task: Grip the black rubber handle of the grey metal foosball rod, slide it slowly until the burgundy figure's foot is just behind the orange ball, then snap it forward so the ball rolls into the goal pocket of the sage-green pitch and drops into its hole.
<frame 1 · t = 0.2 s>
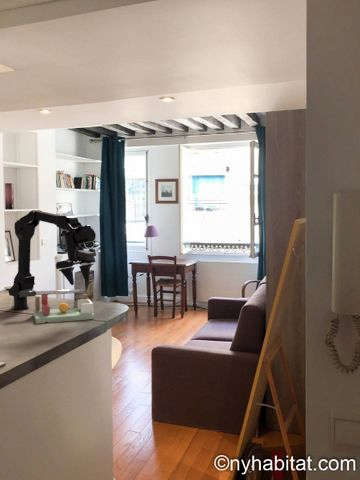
hand: (79, 283, 181), 15 cm above the table, tool pointing down, fingers open, 9 cm apart
foosball rod: (53, 301, 186), point 7 cm above the table, slide at 0.0 cm
ball: (63, 307, 186), point 4 cm above the table, touching foosball frame
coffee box: (84, 305, 208), on the table
foosball frame: (63, 316, 186), on the table
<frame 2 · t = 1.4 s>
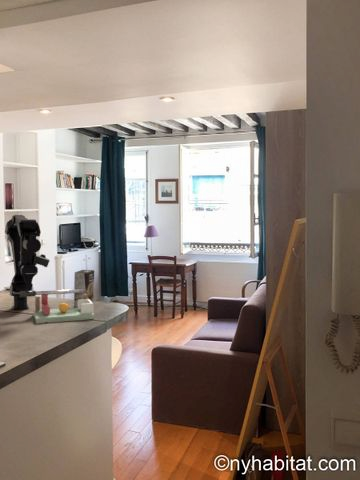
hand: (27, 286, 185), 12 cm above the table, tool pointing down, fingers open, 9 cm apart
nothing on the table moved.
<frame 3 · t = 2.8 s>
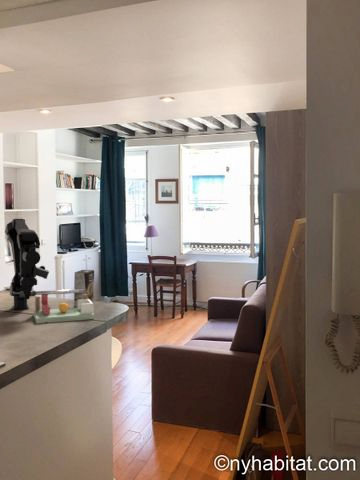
hand: (27, 298, 185), 8 cm above the table, tool pointing down, fingers closed on foosball rod, 2 cm apart
foosball rod: (53, 301, 186), point 7 cm above the table, slide at 0.0 cm, touching gripper
everything else where it was.
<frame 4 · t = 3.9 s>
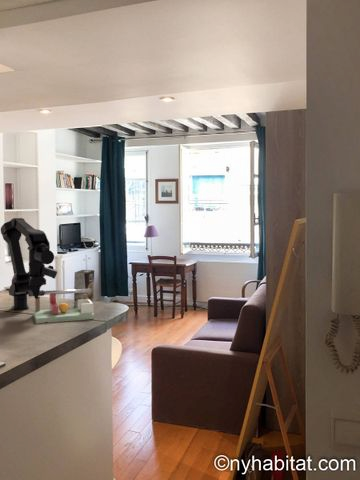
hand: (36, 298, 187), 8 cm above the table, tool pointing down, fingers closed on foosball rod, 2 cm apart
foosball rod: (61, 300, 187), point 7 cm above the table, slide at 3.4 cm, touching gripper
everything else where it was.
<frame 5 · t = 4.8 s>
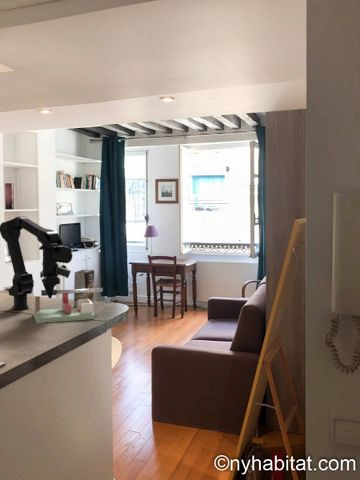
hand: (49, 297, 189), 8 cm above the table, tool pointing down, fingers open, 3 cm apart
foosball rod: (74, 299, 189), point 7 cm above the table, slide at 8.6 cm
ball: (83, 310, 189), point 2 cm above the table, tilted 98°
everything else where it was.
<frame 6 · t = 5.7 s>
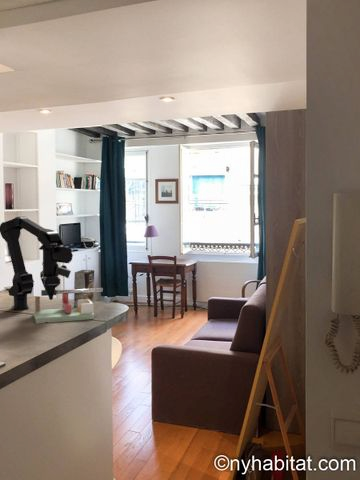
hand: (49, 297, 189), 7 cm above the table, tool pointing down, fingers open, 9 cm apart
ball: (82, 310, 189), point 2 cm above the table, tilted 105°
everything else where it was.
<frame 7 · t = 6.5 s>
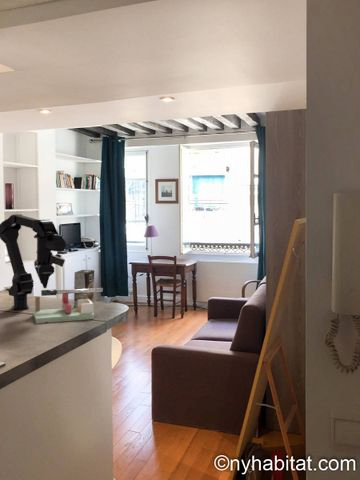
hand: (43, 285, 189), 12 cm above the table, tool pointing down, fingers open, 9 cm apart
nothing on the table moved.
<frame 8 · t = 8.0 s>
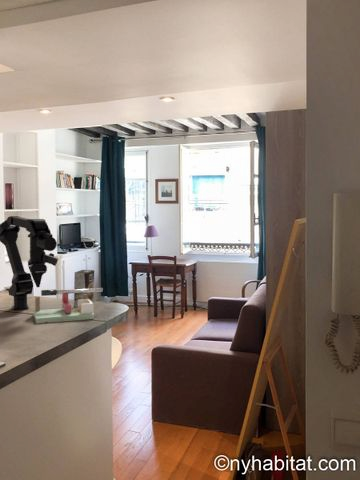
hand: (37, 285, 189), 13 cm above the table, tool pointing down, fingers open, 9 cm apart
nothing on the table moved.
at the end: ball 0.1 cm from the target spot on the foosball frame, point 2.0 cm above the foosball frame's base; foosball rod slide at 8.6 cm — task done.
